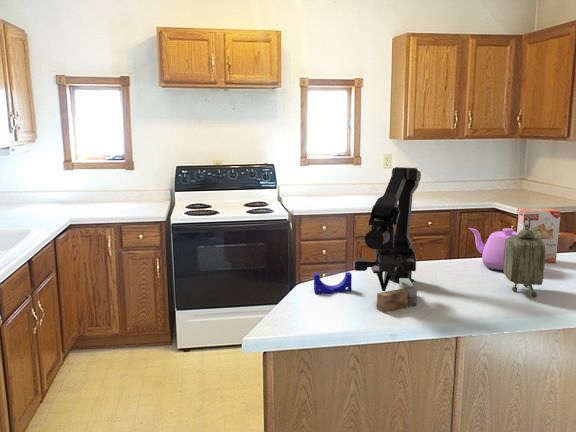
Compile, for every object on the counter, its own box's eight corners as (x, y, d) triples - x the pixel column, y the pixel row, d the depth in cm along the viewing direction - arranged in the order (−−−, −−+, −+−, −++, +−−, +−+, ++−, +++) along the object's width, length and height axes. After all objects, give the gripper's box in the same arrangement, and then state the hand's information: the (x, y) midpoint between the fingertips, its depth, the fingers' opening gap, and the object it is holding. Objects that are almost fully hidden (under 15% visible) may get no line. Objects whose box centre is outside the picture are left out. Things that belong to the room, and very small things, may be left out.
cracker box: (520, 263, 202) (524, 210, 198) (514, 259, 208) (517, 208, 204) (557, 263, 201) (561, 210, 198) (550, 259, 207) (554, 208, 204)
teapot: (535, 263, 201) (538, 225, 199) (524, 276, 184) (527, 235, 182) (475, 255, 214) (477, 220, 212) (460, 267, 197) (462, 228, 195)
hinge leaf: (417, 306, 154) (418, 291, 153) (404, 306, 154) (405, 290, 153) (409, 292, 167) (410, 278, 166) (397, 292, 167) (398, 278, 166)
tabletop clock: (541, 299, 160) (548, 220, 156) (510, 297, 162) (516, 219, 157) (530, 285, 174) (535, 212, 170) (501, 284, 176) (506, 211, 171)
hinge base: (410, 302, 158) (411, 286, 158) (419, 305, 155) (419, 289, 154) (376, 309, 153) (376, 292, 152) (384, 313, 149) (384, 296, 148)
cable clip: (315, 294, 167) (315, 276, 166) (313, 290, 171) (313, 272, 170) (352, 293, 167) (352, 275, 166) (349, 289, 172) (350, 272, 171)
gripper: (356, 248, 153) (355, 299, 155) (420, 248, 152) (418, 299, 154) (353, 240, 164) (353, 287, 166) (413, 240, 163) (411, 288, 165)
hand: (383, 290), depth 163 cm, fingers closed
